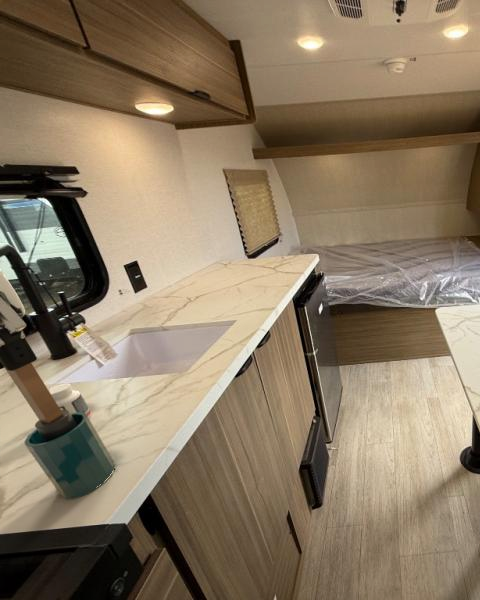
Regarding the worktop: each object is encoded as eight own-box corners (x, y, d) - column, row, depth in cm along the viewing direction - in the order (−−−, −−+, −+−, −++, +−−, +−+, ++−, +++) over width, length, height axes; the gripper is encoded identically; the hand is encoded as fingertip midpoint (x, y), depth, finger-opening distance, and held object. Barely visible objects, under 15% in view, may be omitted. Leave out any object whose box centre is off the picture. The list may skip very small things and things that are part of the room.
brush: (47, 453, 53) (-33, 338, 44) (74, 435, 56) (5, 324, 48) (64, 456, 52) (-14, 339, 43) (91, 437, 55) (24, 325, 47)
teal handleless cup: (50, 495, 55) (12, 443, 50) (96, 459, 61) (67, 410, 57) (81, 502, 53) (45, 449, 48) (125, 464, 60) (97, 414, 55)
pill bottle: (88, 409, 76) (71, 378, 72) (94, 417, 73) (76, 385, 70) (58, 423, 72) (38, 391, 68) (63, 432, 69) (42, 399, 66)
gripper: (-147, 252, 39) (-54, 376, 46) (-68, 250, 35) (21, 384, 43) (-56, 239, 46) (14, 348, 53) (19, 235, 42) (83, 354, 49)
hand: (16, 364), depth 48 cm, fingers closed on brush, 2 cm apart
